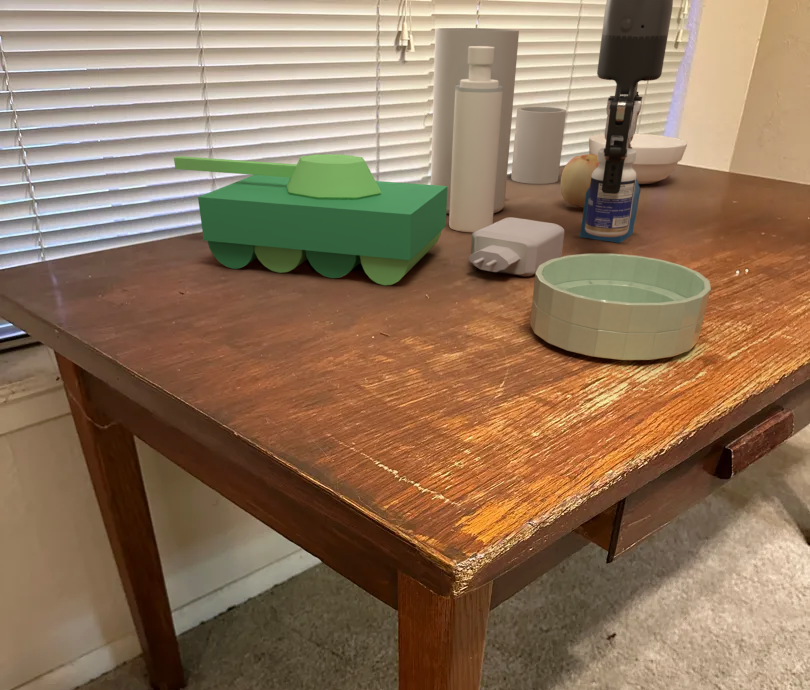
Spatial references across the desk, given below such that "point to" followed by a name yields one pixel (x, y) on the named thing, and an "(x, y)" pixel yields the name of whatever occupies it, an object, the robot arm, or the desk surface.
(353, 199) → the toy tank
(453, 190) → the spray bottle
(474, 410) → the desk surface
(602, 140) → the bowl
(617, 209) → the pill bottle
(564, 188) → the apple
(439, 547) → the desk surface
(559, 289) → the ceramic bowl
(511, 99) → the cylinder vase
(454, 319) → the desk surface
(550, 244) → the charger
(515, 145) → the cup
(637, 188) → the perfume bottle
